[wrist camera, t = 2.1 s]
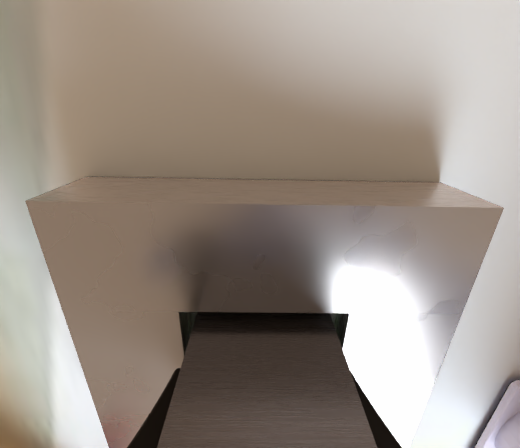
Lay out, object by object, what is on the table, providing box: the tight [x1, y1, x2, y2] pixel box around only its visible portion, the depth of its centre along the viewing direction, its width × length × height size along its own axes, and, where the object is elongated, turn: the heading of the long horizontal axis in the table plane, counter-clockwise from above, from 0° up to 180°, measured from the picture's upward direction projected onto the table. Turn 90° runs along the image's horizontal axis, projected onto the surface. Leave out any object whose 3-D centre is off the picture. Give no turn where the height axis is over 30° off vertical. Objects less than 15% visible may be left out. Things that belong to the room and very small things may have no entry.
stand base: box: [26, 177, 504, 448], centre depth 11 cm, size 14×14×5 cm
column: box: [157, 312, 377, 448], centre depth 10 cm, size 5×5×8 cm
